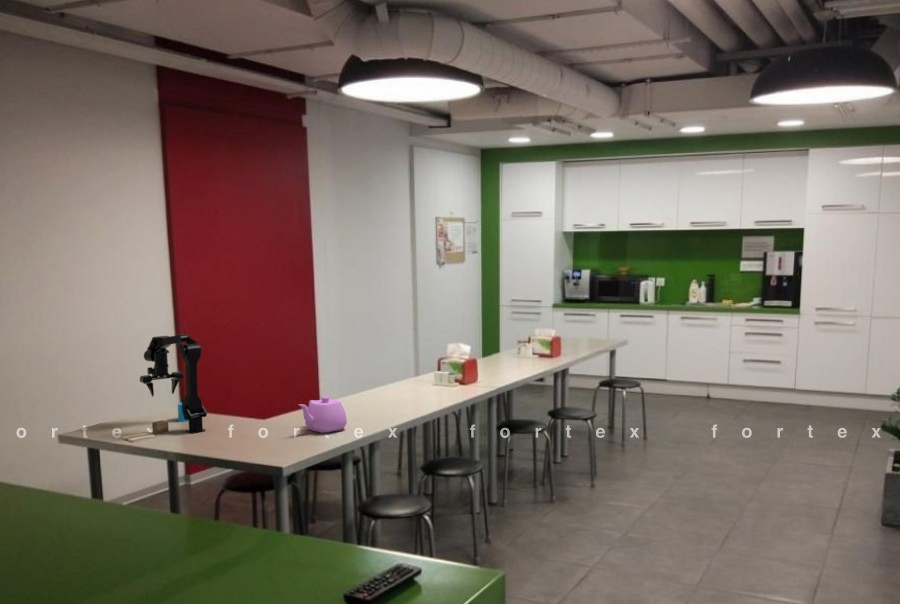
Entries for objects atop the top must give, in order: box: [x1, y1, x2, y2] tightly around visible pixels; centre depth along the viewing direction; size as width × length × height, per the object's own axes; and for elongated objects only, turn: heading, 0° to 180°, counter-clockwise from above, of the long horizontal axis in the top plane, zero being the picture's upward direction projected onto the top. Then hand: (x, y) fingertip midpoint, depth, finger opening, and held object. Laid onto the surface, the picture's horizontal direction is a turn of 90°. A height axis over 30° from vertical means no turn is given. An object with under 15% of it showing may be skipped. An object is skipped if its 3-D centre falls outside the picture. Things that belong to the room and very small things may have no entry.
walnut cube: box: [151, 420, 169, 435], centre depth 324 cm, size 5×5×5 cm
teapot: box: [298, 395, 348, 434], centre depth 323 cm, size 23×21×15 cm
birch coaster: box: [121, 432, 156, 443], centre depth 314 cm, size 10×10×1 cm
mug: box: [177, 402, 193, 423], centre depth 351 cm, size 12×8×8 cm
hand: (162, 395), depth 340 cm, fingers open, 9 cm apart
